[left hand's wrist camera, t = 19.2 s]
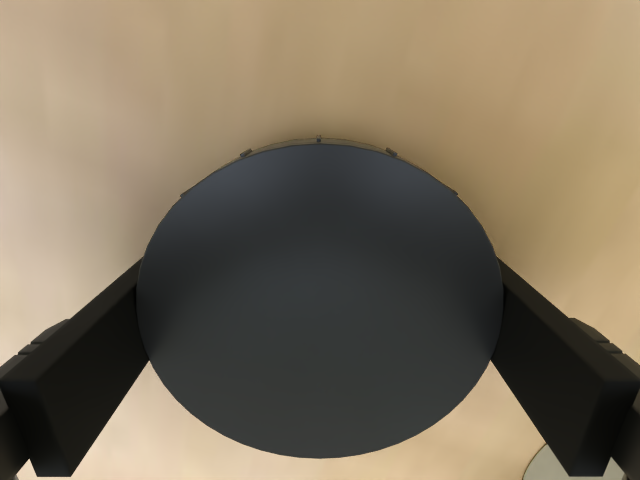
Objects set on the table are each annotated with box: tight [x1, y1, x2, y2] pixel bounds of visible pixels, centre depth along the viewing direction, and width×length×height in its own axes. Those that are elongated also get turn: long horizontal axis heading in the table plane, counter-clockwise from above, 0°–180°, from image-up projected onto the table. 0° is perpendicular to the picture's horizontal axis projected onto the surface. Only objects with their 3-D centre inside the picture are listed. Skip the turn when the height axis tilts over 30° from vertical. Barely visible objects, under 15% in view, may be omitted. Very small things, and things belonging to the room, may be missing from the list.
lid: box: [136, 135, 504, 459], centre depth 12 cm, size 11×11×2 cm
